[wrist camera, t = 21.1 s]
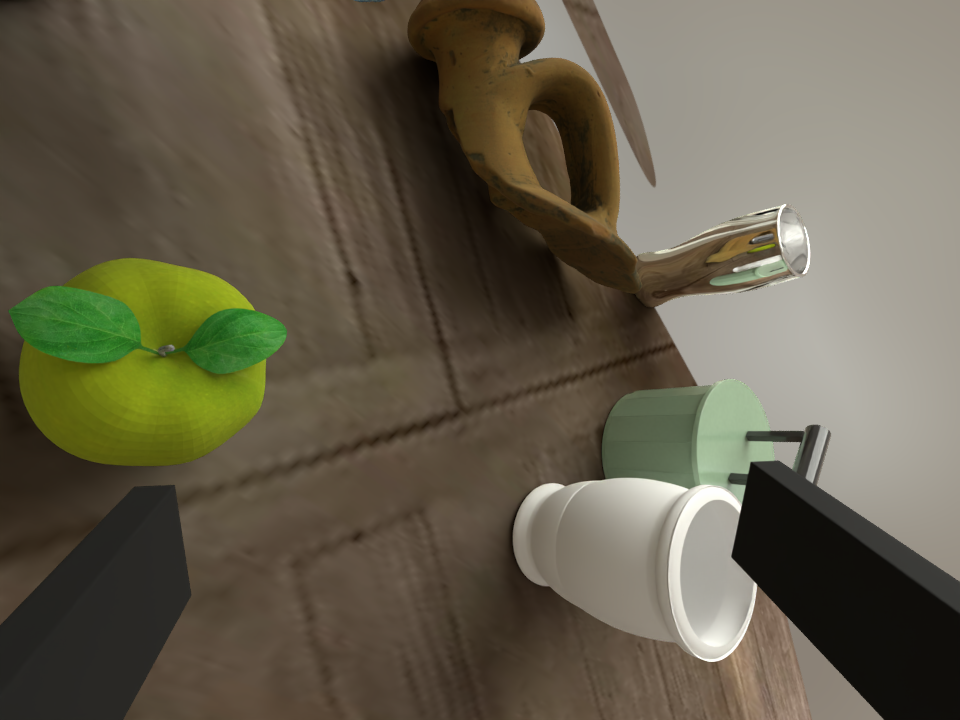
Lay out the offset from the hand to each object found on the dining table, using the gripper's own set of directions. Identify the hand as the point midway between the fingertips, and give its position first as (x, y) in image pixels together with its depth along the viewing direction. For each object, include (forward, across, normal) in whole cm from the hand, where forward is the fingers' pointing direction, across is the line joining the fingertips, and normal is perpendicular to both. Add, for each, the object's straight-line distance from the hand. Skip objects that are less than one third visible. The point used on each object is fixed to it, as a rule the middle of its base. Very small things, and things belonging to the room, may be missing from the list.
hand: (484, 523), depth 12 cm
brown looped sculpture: (+36, +7, +9) cm, 38 cm away
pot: (+34, +22, -16) cm, 44 cm away
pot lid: (+27, +27, -13) cm, 40 cm away
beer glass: (+43, +25, 0) cm, 50 cm away
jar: (+26, +10, -19) cm, 34 cm away
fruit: (+18, -16, -2) cm, 24 cm away
